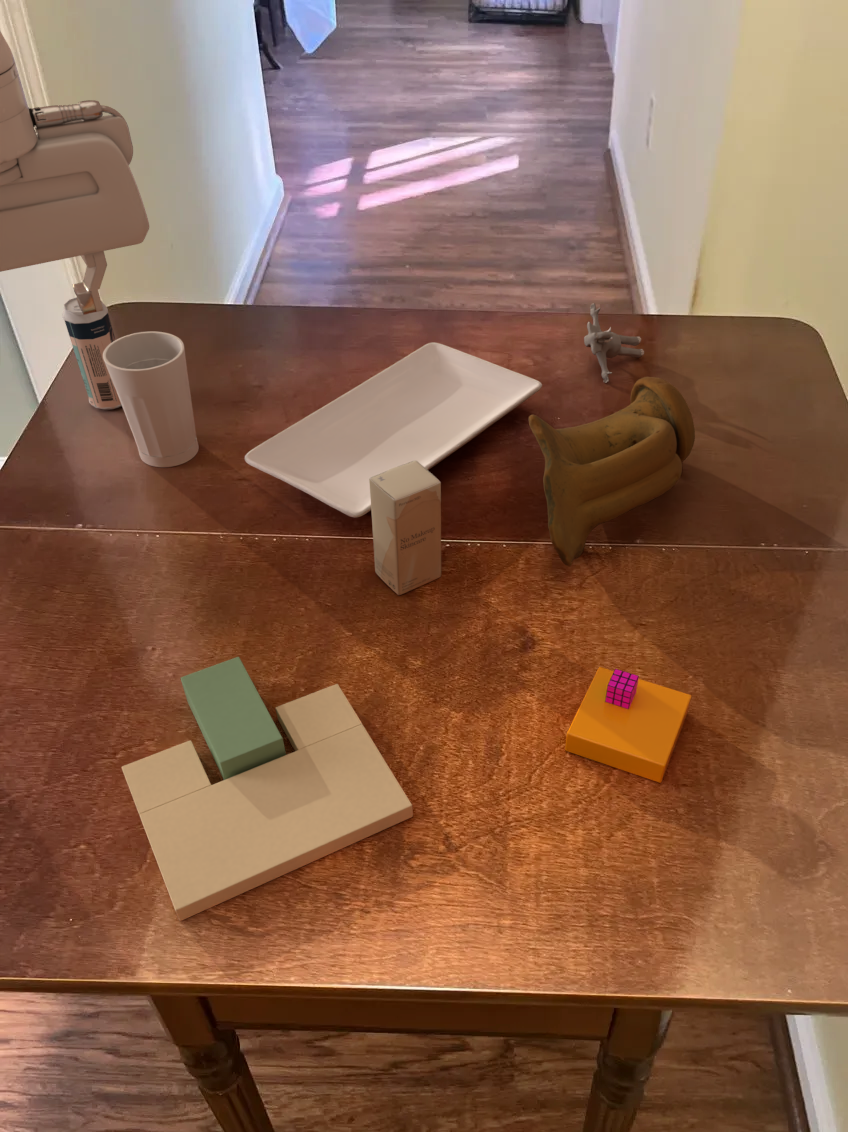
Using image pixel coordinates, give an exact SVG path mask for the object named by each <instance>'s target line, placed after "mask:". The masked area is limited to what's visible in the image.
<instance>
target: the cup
mask: <svg viewBox="0 0 848 1132" xmlns="http://www.w3.org/2000/svg"><path fill="white" fill-rule="evenodd" d="M103 359H104V362H105V364H106V367H107V369H108V372H109V374H110V377H111V379H112V382H113V384H114V387H115V389H116V391H117V394H118V397H119V399H120V402H121V404H122V406H121V407H122V411H123V412H124V415H125V418H126V420H127V423H128V425H129V428H130V431H131V433H132V436H133V438H134V442H135V444H136V447H137V451H138V454H139V458H140V460H141V461H142V462H143V463H144V464H146V465H148V466H151V467H154V468H155V467H156V468H171V467H176V466H180V465H183V464H185V463H187V462H189V461H191V460H192V459H193V458H194V457H196V455H197V454H198V452H199V450H200V449H199V448H200V447H199V446H200V445H199V442H198V441H199V440H198V437H197V431H196V424H195V417H194V416H195V415H194V409H193V403H192V402H193V401H192V395H191V388H190V379H189V375H188V373H189V372H188V366H187V365H188V364H187V360H186V359H187V358H186V350H185V344H184V342H183V340H182V339H181V338H180V337H178V336H176V335H174V334H172V333H169V332H164V331H163V332H162V331H154V330H153V331H150V330H149V331H139V332H134V333H131V334H130V333H129V334H127V335H124V336H121V337H119V338H116V339H115V341H113V342H112V343H111V344H109V345H108V346H107V347H106V349H105V350H104V352H103Z"/></svg>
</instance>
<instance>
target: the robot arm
mask: <svg viewBox="0 0 848 1132" xmlns="http://www.w3.org/2000/svg"><path fill="white" fill-rule="evenodd" d="M16 63H17V62H16V61H15V57H14V54H13V52H12V49H11V47H10V45H9V43H8V42H7V40H6V39H5V37H4V35H3V34H2V32H1V30H0V272H6V271H11V270H16V269H20V268H26V267H31V266H36V265H41V264H45V263H50V262H51V263H52V262H56V261H61V260H65V259H66V260H67V259H70V258H75V257H81V259H82V261H83V262H84V264H85V265H86V268H85V272H84V276H83V280H82V282H78V283H77V282H76V283H74V284H72V289H73V292H74V294H75V296H76V297H77V302H78V305H79V308H80V310H81V311H82V313H83V315H85V314H90V313H95V312H99V311H103V306H102V303H101V301H102V300H101V296H100V293H99V290H100V289H101V286H102V282H103V279H104V276H105V273H106V270H107V267H108V262H107V259H106V255H105V251H111V250H115V249H120V248H125V247H131V246H136V245H139V244H142V243H143V242H144V241H145V240H146V237H147V235H148V232H149V230H150V222H149V218H148V215H147V212H146V211H147V210H146V208H145V205H144V202H143V198H142V196H141V193H140V190H139V186H138V184H137V182H136V180H135V177H134V175H133V172H132V170H131V168H130V165H131V162H132V161H133V158H134V146H133V142H132V137H131V133H130V132H131V131H130V128H129V125H128V123H127V120H126V119H125V117H124V116H123V114H121V113H120V112H119V111H118V110H116V109H115V108H113V107H111V106H108V105H103V104H101V103H100V101H98V100H96V99H95V100H94V99H87V100H81V101H78V102H77V103H72V104H55V105H54V104H53V105H47V106H46V105H45V106H37V107H33V108H32V107H29V104H28V101H27V98H26V94H25V91H24V87H23V84H22V81H21V78H20V73H19V71H18V70H19V69H18V67H17V64H16ZM105 113H106V114H108V115H103V114H105Z"/></svg>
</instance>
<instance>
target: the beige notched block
mask: <svg viewBox="0 0 848 1132" xmlns="http://www.w3.org/2000/svg"><path fill="white" fill-rule="evenodd" d="M275 713H276V717H277V720H278V722H279V724H280V726H281V728H282V730H283V731H284V734H285V735H286V738H287V739H288V741H289V743H290V745H291V747H292V749H293V750H294V751H293V752H291V753H287V754H286V755H285V756H283V757H280V758H278V759H275V760H273V761H270V762H268V763H265V764H263V765H260V766H258V767H255V768H253V769H251V770H248V771H246V772H243V773H241V774H238V775H236V776H233V777H231V778H228V779H226V780H224V779H223V780H221V781H219V782H216V783H213V784H212V783H211V781H210V779H209V777H208V775H207V772H206V770H205V768H204V766H203V763H202V761H201V759H200V756H199V754H198V752H197V749H196V748H195V745H194V743H193V741H192V740H191V739H190V740H187V741H184V742H182V743H179V744H177V745H174V746H171V747H169V748H167V749H164V750H161V751H158V752H156V753H153V754H151V755H148V756H146V757H143V758H141V759H138V760H135V761H132V762H130V763H127V764H124V765H122V766H121V771H122V773H123V775H124V778H125V781H126V784H127V786H128V790H129V792H130V794H131V797H132V800H133V803H134V805H135V808H136V810H137V813H138V815H139V819H140V821H141V823H142V826H143V829H144V832H145V834H146V836H147V839H148V842H149V845H150V848H151V850H152V853H153V855H154V858H155V860H156V863H157V866H158V868H159V871H160V874H161V876H162V877H161V878H162V879H163V883H164V885H165V887H166V889H167V892H168V895H169V898H170V900H171V903H172V907H173V909H174V911H175V913H176V916H177V918H178V921H179V922H182V921H184V920H186V919H189V918H191V917H193V916H195V915H197V914H199V913H202V912H204V911H207V910H209V909H211V908H213V907H215V906H217V905H219V904H222V903H224V902H227V901H229V900H231V899H233V898H235V897H238V896H240V895H242V894H244V893H247V892H249V891H251V890H254V889H255V888H257V887H260V886H262V885H264V884H266V883H268V882H272V881H273V880H275V879H278V878H279V877H282V876H284V875H286V874H289V873H291V872H293V871H295V870H297V869H300V868H302V867H304V866H307V865H308V864H310V863H313V862H315V861H318V860H320V859H322V858H324V857H326V856H328V855H330V854H333V853H335V852H337V851H339V850H342V849H344V848H346V847H348V846H351V845H353V844H356V843H358V842H359V841H360V842H361V841H362V840H364V839H367V838H368V837H370V836H373V835H376V834H377V833H380V832H382V831H384V830H387V829H389V828H391V827H393V826H395V825H398V824H399V823H402V822H405V821H407V820H408V819H409V820H410V819H411V818H413V817H414V811H413V809H414V808H413V804H412V802H411V801H410V799H409V796H407V794H406V793H405V791H404V789H403V787H402V786H401V784H400V782H399V781H398V780H397V778H396V776H395V775H394V773H393V771H392V770H391V768H390V767H389V764H388V763H387V762H386V760H385V758H384V756H383V755H382V753H381V752H380V751H379V748H378V746H377V745H376V744H375V742H374V741H373V739H372V737H371V735H370V734H369V732H368V731H367V729H366V727H365V726H364V724H363V722H362V721H361V720H360V718H359V716H358V714H357V713H356V711H355V710H354V708H353V706H352V704H351V703H350V701H349V700H348V698H347V696H346V695H345V693H344V692H343V689H342V688H341V687H340V685H339V683H336V684H333V685H329V686H328V687H325V688H322V689H319V690H317V691H315V692H312V693H309V694H307V695H304V696H302V697H299V698H296V699H293V700H291V701H288V702H286V703H283V704H281V705H278V706H276V707H275Z"/></svg>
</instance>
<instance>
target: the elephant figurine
mask: <svg viewBox="0 0 848 1132" xmlns="http://www.w3.org/2000/svg"><path fill="white" fill-rule="evenodd" d="M601 308H602V307H598V308H596V303H595V302H594V303H591V304H590V307H589V309H590V311H589V313H590V317H591V318H592V321H593V323H591V321H588V322H587V324H586V328H587V334H585V336H584V337H583V343H584V345H585V347H586V348H590V351H591V353H592V354H593V355H594V356H595V357H596V358H597V362H598V364H599V366H600V368H601V378H602V380H603V383H605V384H608V383H609V382H610V378H609V376H610V375H611V374H613V371H610V370H609V369H608V363H607V359H613V358H616V356H619V357H621V356H623V357H630V358H634V359H640V358H642V357H643V356H644V354H645V350H644V349H643V348H633V347H627V346H634V347H636V346H638V345H640V343H641V342H642V338H641V336H628V335H622V334H618V333H616V332H613V331H612V327H611V326H610V327H609V329H608V330H605V331H602V329H601V325H600V322H599V313H600V310H602V309H601ZM622 345H627V346H622Z"/></svg>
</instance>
